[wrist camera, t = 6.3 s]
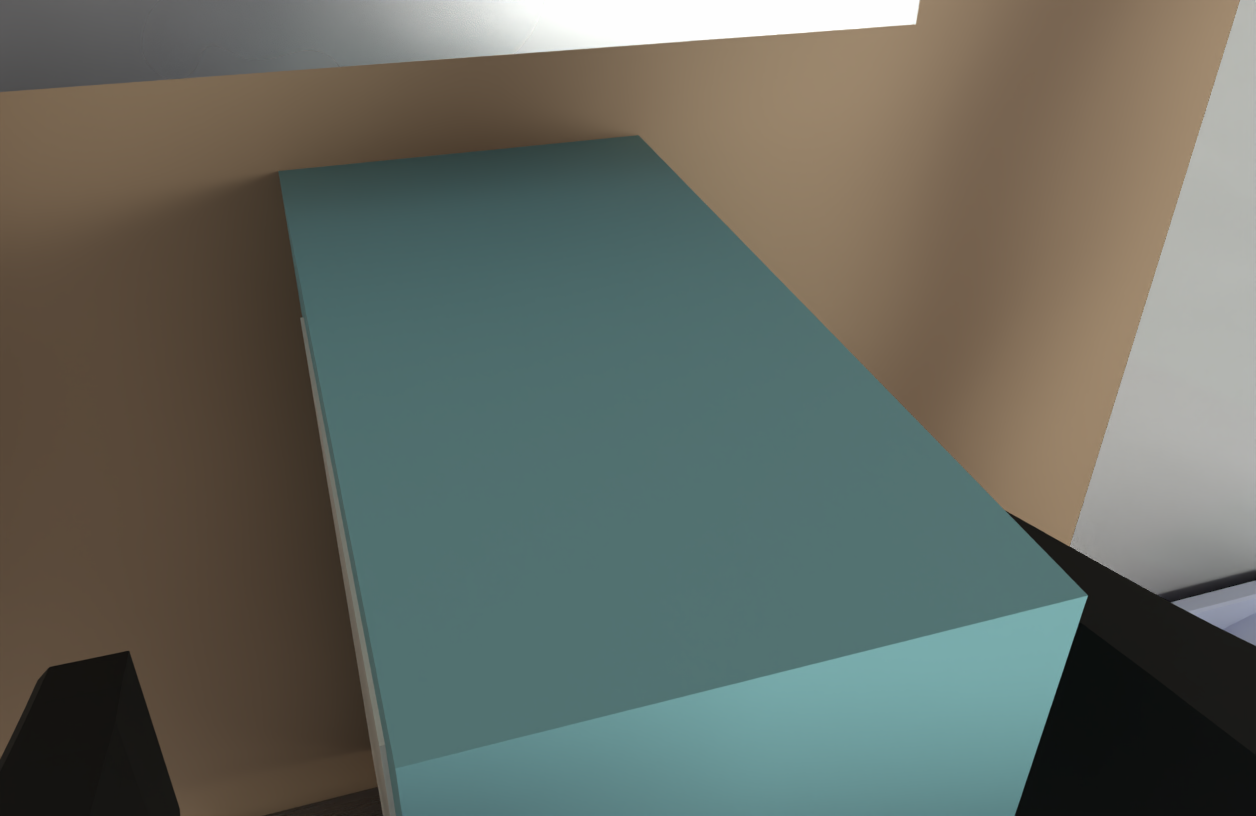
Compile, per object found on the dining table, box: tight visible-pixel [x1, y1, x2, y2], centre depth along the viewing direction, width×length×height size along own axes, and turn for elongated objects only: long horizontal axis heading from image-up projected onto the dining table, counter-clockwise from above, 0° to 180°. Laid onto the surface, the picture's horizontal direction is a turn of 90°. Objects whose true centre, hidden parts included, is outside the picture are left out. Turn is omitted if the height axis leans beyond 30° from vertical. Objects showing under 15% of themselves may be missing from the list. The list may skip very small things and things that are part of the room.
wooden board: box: [0, 0, 1240, 816], centre depth 13 cm, size 18×14×3 cm
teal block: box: [278, 135, 1088, 816], centre depth 10 cm, size 4×8×7 cm, turn 179°
